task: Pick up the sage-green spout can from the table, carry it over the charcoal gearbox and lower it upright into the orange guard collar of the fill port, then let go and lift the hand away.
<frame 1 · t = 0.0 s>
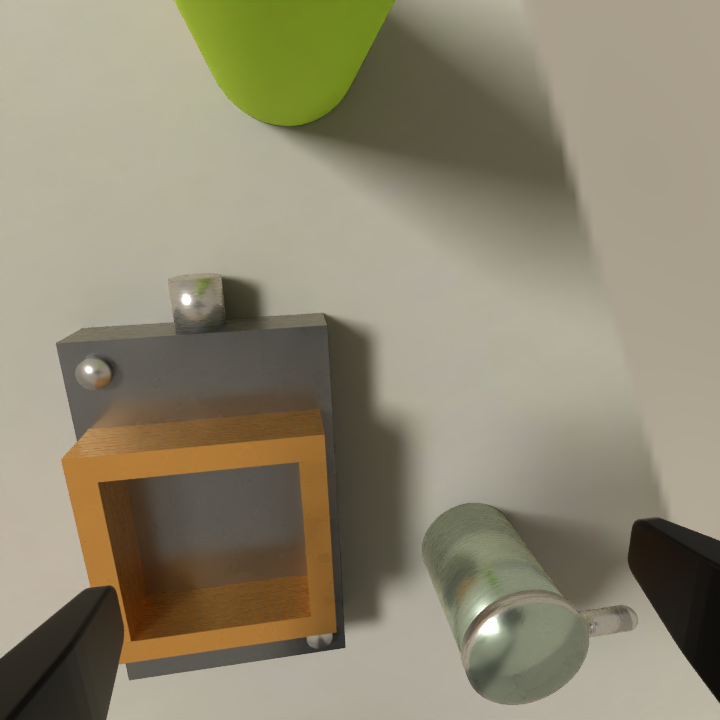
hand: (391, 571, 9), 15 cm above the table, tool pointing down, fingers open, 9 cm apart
soap dispenser: (279, 28, 19), on the table
gearbox: (226, 486, 24), on the table
spout can: (467, 544, 27), on the table
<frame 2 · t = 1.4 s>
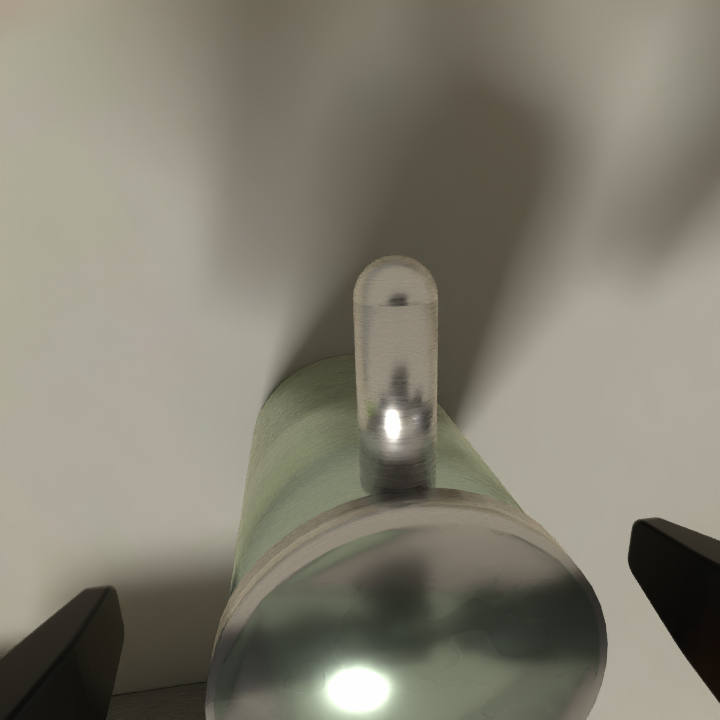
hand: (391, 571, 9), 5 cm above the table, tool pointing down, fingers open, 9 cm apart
spout can: (350, 446, 13), on the table
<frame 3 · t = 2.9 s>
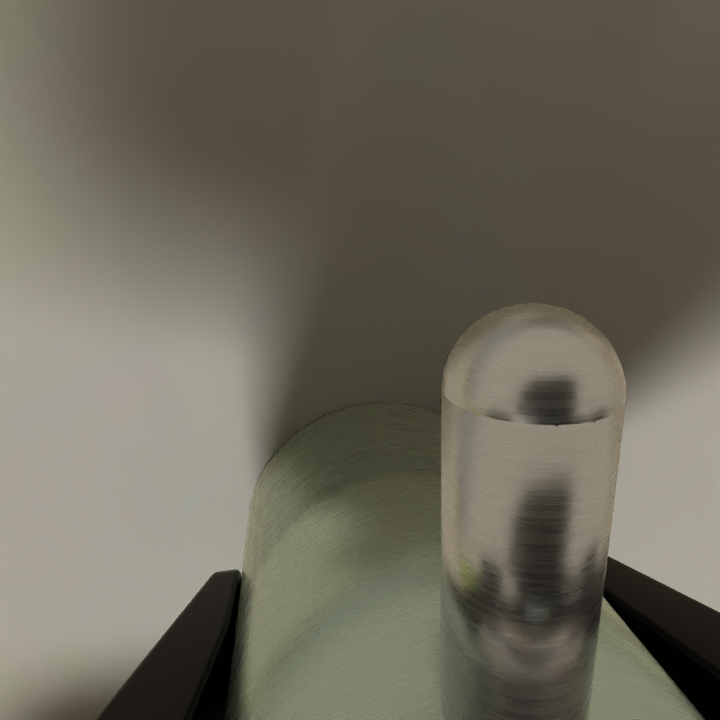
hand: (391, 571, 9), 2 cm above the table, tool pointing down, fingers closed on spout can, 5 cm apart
spout can: (375, 519, 10), on the table, touching gripper
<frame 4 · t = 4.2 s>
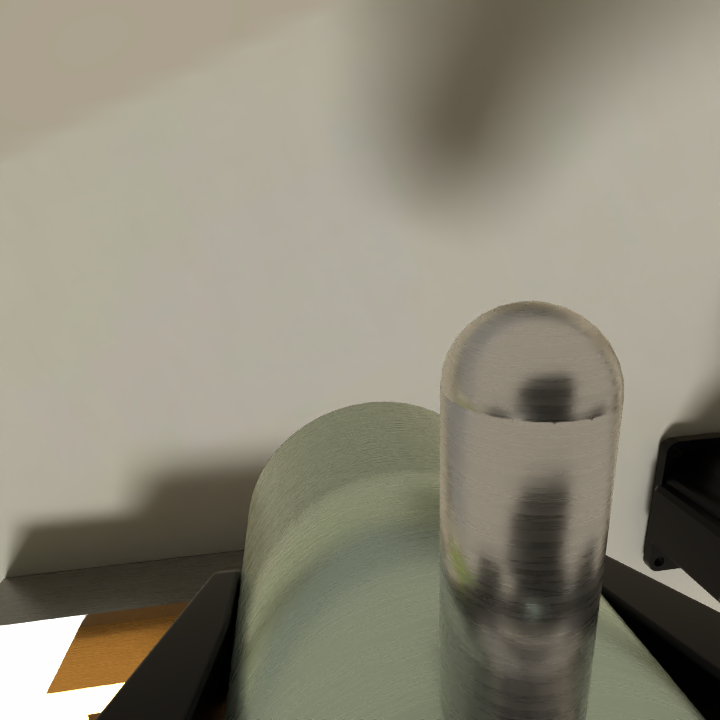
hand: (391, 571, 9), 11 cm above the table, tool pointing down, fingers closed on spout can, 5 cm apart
gearbox: (232, 651, 21), on the table
spout can: (375, 518, 10), point 9 cm above the table, touching gripper
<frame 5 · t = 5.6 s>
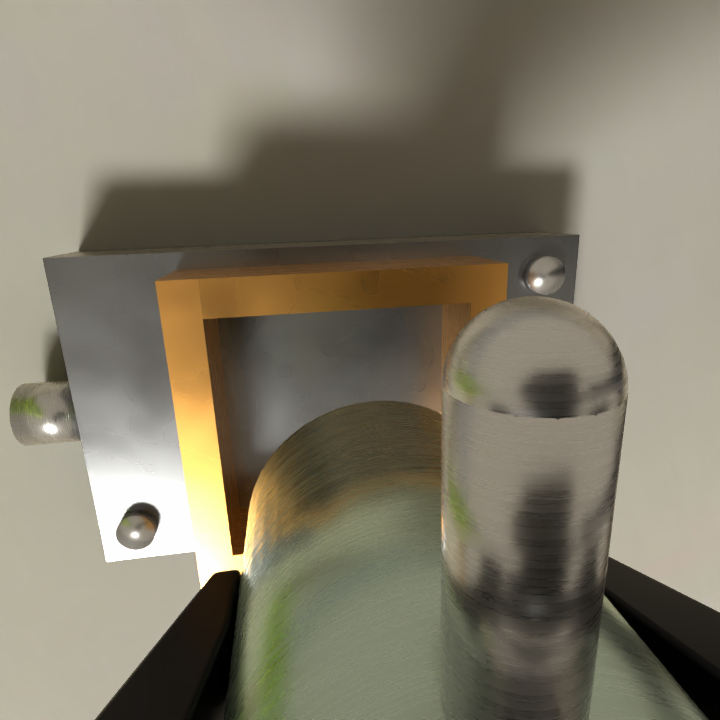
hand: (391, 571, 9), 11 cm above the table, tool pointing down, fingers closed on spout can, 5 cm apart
gearbox: (330, 378, 19), on the table
spout can: (375, 517, 10), point 9 cm above the table, touching gripper
when the fingers open (6 cm above the table, at t = 7.3 s): spout can drops 2 cm, resting on gearbox.
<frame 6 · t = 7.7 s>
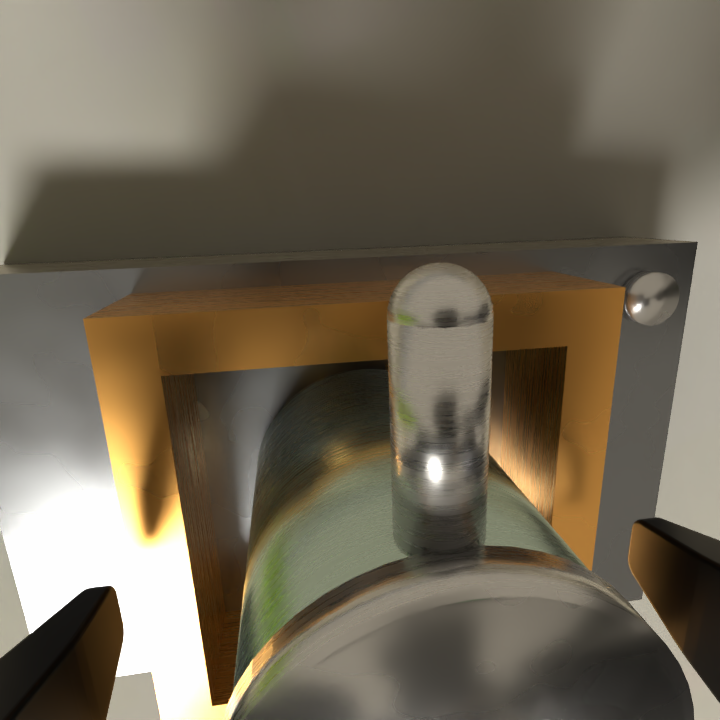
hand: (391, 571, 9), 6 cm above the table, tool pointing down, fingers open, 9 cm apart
gearbox: (347, 428, 14), on the table
spout can: (363, 469, 12), point 2 cm above the table, touching gearbox
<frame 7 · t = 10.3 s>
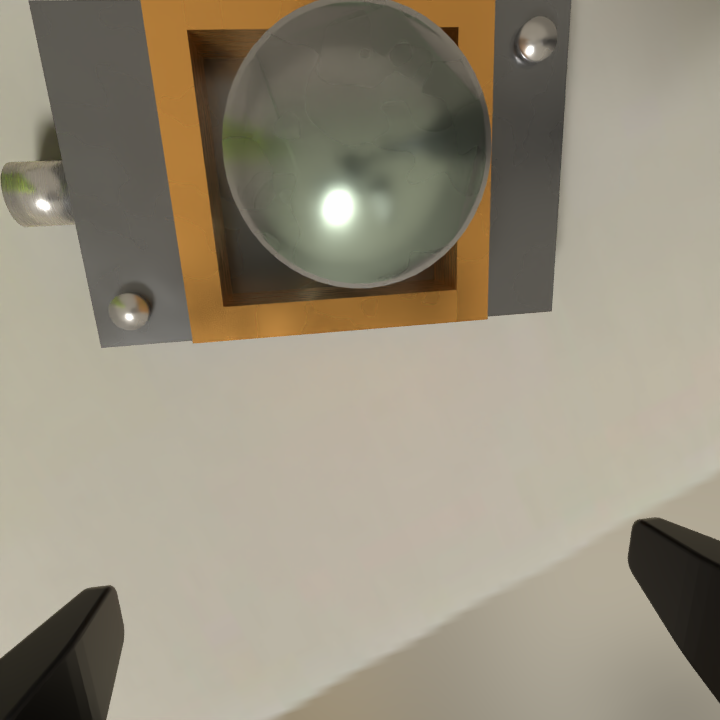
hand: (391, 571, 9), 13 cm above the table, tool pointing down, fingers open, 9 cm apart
gearbox: (323, 182, 19), on the table
spout can: (331, 176, 16), point 2 cm above the table, touching gearbox
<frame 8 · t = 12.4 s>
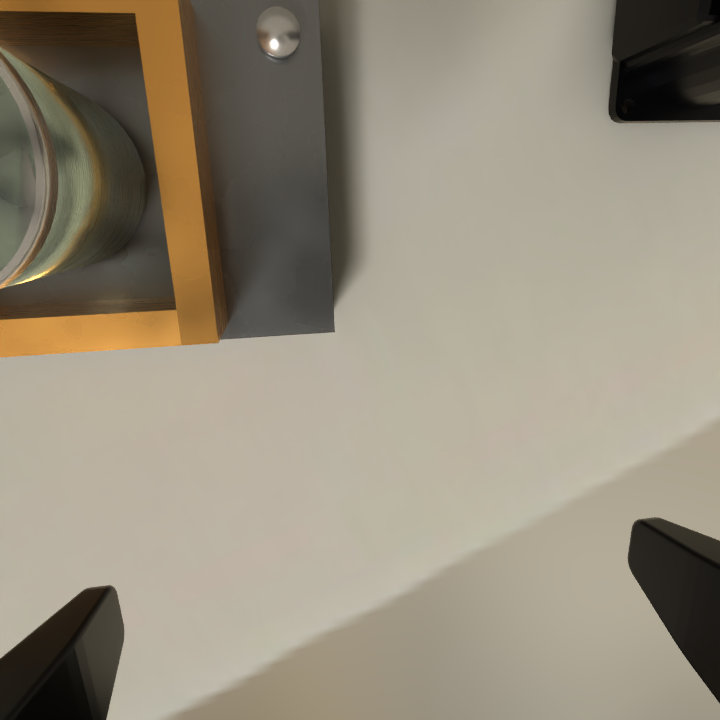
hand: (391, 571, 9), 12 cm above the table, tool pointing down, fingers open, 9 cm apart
gearbox: (85, 187, 17), on the table
spout can: (55, 180, 15), point 2 cm above the table, touching gearbox
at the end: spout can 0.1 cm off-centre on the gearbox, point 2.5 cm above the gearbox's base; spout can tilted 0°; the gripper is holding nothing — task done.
